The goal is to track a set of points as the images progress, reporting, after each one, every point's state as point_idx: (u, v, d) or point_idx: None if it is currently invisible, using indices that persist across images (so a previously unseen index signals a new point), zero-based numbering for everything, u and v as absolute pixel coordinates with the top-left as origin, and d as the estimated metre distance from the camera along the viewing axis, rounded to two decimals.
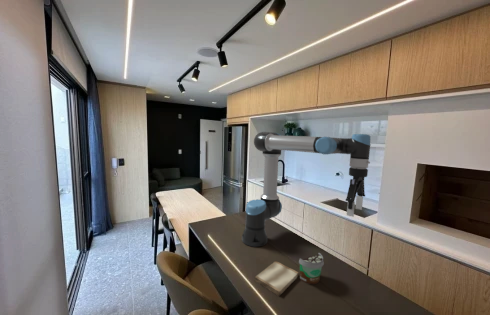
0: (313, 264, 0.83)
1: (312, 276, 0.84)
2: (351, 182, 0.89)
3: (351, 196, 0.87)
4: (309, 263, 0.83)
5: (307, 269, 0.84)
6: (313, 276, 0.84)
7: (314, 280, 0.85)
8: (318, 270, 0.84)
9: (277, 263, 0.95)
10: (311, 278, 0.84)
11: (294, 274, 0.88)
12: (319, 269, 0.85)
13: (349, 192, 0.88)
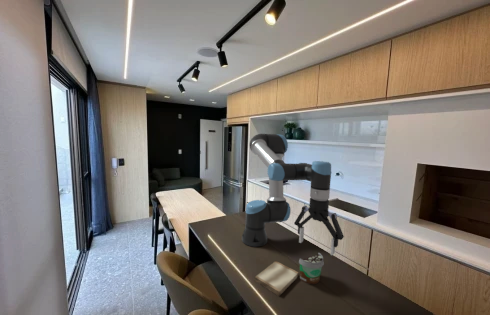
0: (313, 264, 0.83)
1: (312, 276, 0.84)
2: None
3: None
4: (309, 263, 0.83)
5: (307, 269, 0.84)
6: (313, 276, 0.84)
7: (314, 280, 0.85)
8: (318, 270, 0.84)
9: (277, 263, 0.95)
10: (311, 278, 0.84)
11: (294, 274, 0.88)
12: (319, 269, 0.85)
13: None
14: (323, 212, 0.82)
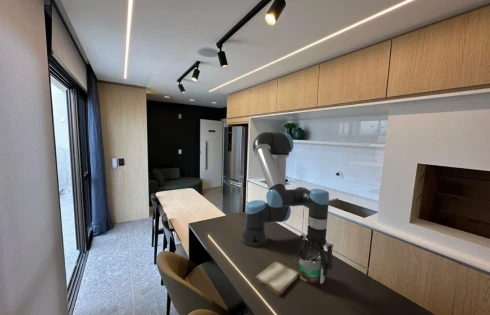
0: (313, 264, 0.83)
1: (312, 276, 0.84)
2: None
3: None
4: (309, 263, 0.83)
5: (307, 269, 0.84)
6: (313, 276, 0.84)
7: (314, 280, 0.84)
8: (318, 270, 0.84)
9: (277, 263, 0.95)
10: (312, 278, 0.84)
11: (294, 274, 0.88)
12: (319, 269, 0.85)
13: None
14: (321, 240, 0.83)
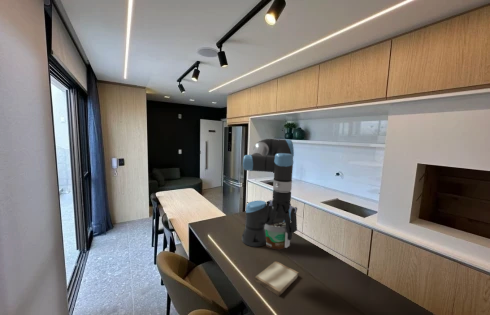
0: (278, 228, 0.82)
1: (277, 241, 0.83)
2: None
3: None
4: (274, 227, 0.82)
5: (272, 234, 0.83)
6: (278, 241, 0.83)
7: (279, 245, 0.83)
8: (283, 235, 0.83)
9: (277, 263, 0.95)
10: (276, 243, 0.83)
11: (294, 274, 0.88)
12: (284, 234, 0.84)
13: None
14: (285, 203, 0.82)
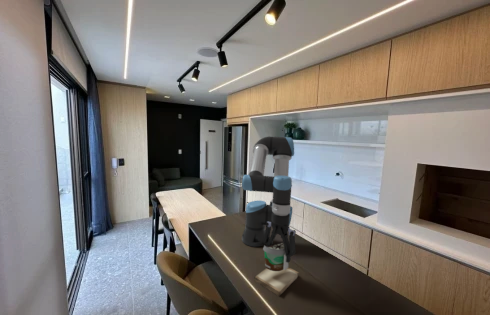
0: (276, 251, 0.83)
1: (276, 263, 0.84)
2: None
3: None
4: (272, 250, 0.83)
5: (270, 256, 0.84)
6: (277, 263, 0.84)
7: (278, 267, 0.84)
8: (282, 257, 0.84)
9: None
10: (275, 265, 0.84)
11: (294, 274, 0.88)
12: (283, 256, 0.84)
13: None
14: (284, 226, 0.83)
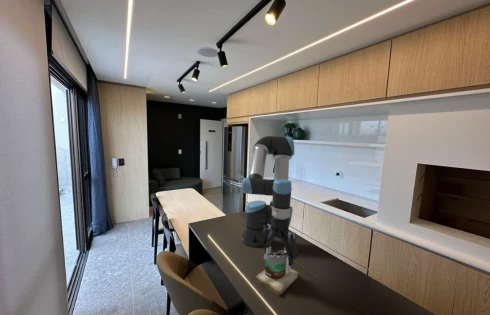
0: (277, 259, 0.83)
1: (276, 271, 0.84)
2: None
3: None
4: (273, 258, 0.83)
5: (271, 264, 0.84)
6: (277, 271, 0.84)
7: (278, 274, 0.84)
8: (282, 264, 0.84)
9: None
10: (276, 272, 0.84)
11: (294, 274, 0.88)
12: (283, 263, 0.85)
13: None
14: (283, 230, 0.83)
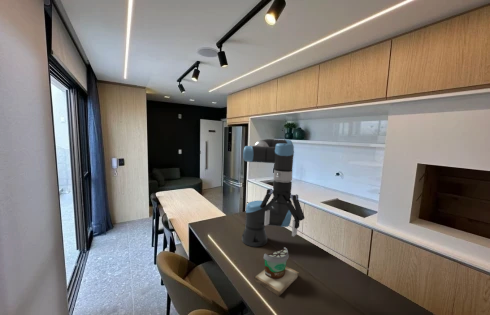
0: (277, 258, 0.83)
1: (276, 271, 0.84)
2: None
3: None
4: (273, 258, 0.83)
5: (271, 264, 0.84)
6: (277, 270, 0.84)
7: (278, 274, 0.84)
8: (282, 264, 0.84)
9: None
10: (276, 272, 0.84)
11: (294, 274, 0.88)
12: (283, 263, 0.85)
13: None
14: (285, 194, 0.82)
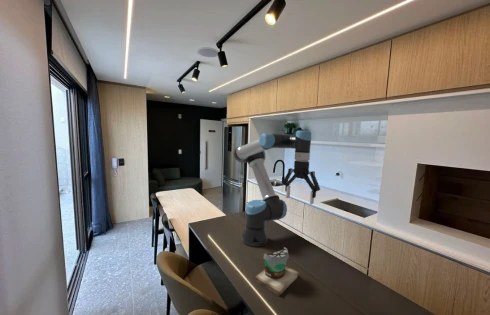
0: (277, 258, 0.83)
1: (276, 271, 0.84)
2: None
3: None
4: (273, 258, 0.83)
5: (271, 264, 0.84)
6: (277, 270, 0.84)
7: (278, 274, 0.84)
8: (282, 264, 0.84)
9: None
10: (276, 272, 0.84)
11: (294, 274, 0.88)
12: (283, 263, 0.85)
13: None
14: (304, 171, 1.02)
